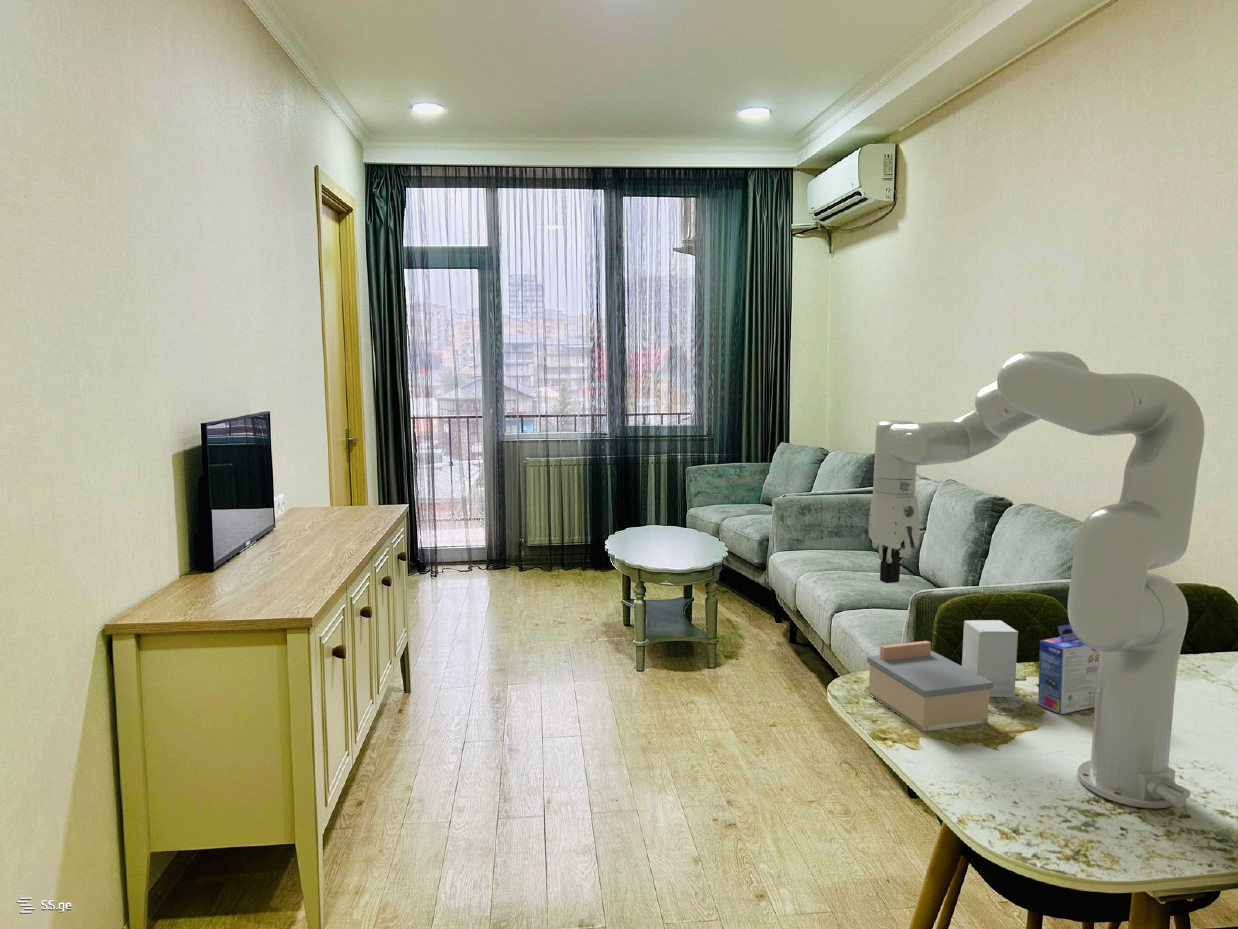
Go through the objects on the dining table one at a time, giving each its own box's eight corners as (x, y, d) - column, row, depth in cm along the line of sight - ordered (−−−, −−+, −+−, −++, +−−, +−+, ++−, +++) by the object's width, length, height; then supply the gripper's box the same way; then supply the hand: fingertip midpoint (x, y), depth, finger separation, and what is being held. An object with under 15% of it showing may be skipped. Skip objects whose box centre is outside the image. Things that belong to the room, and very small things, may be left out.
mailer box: (987, 722, 142) (989, 689, 141) (922, 731, 138) (924, 697, 138) (928, 687, 157) (929, 657, 157) (868, 695, 154) (869, 664, 153)
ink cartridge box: (1074, 695, 154) (1079, 620, 152) (1101, 707, 148) (1106, 629, 147) (1034, 703, 150) (1039, 626, 148) (1060, 715, 145) (1066, 635, 143)
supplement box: (1015, 698, 153) (1019, 631, 151) (975, 697, 153) (978, 631, 151) (998, 682, 160) (1001, 619, 158) (959, 682, 160) (963, 619, 158)
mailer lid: (993, 688, 141) (994, 669, 140) (925, 697, 137) (925, 677, 137) (929, 654, 157) (930, 637, 157) (867, 662, 153) (867, 644, 153)
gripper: (937, 492, 149) (931, 591, 151) (888, 480, 163) (883, 570, 165) (901, 493, 147) (895, 594, 149) (854, 481, 161) (850, 573, 163)
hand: (889, 581), depth 157 cm, fingers closed
